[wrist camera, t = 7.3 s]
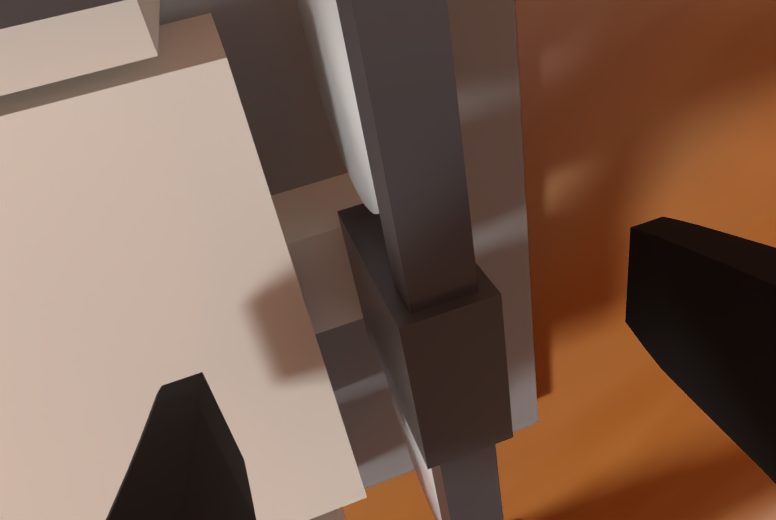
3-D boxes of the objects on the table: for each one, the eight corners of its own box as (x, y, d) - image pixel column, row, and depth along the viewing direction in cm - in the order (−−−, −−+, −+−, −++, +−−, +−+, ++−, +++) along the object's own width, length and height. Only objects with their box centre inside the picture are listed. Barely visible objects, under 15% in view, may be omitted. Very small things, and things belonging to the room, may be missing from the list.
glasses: (334, -160, 10) (460, -192, 5) (441, 433, 17) (526, 604, 13) (-422, -6, 8) (-1046, 112, 4) (69, 571, 16) (36, 814, 12)
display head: (473, -351, 10) (722, -538, 6) (526, 404, 20) (629, 555, 16) (-628, -167, 8) (-1713, -233, 3) (53, 583, 18) (15, 819, 13)
